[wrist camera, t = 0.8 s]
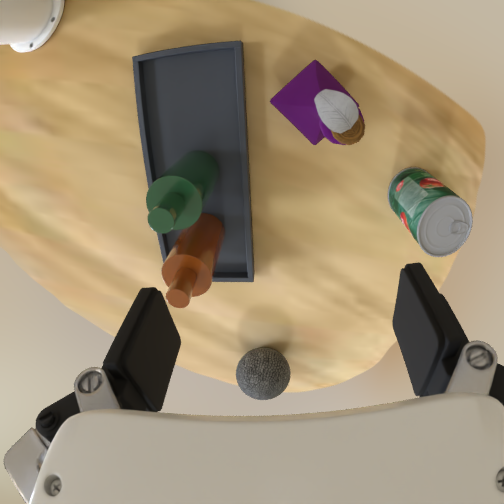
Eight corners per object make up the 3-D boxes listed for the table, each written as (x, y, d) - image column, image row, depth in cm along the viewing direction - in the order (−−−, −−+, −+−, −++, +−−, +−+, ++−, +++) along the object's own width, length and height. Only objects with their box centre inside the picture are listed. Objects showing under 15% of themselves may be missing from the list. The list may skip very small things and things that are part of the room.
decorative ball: (234, 364, 61) (229, 404, 52) (244, 332, 55) (238, 375, 47) (281, 372, 61) (281, 412, 53) (296, 341, 56) (298, 385, 47)
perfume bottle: (353, 103, 34) (411, 124, 19) (311, 140, 37) (338, 187, 22) (312, 60, 32) (344, 44, 16) (269, 99, 35) (266, 113, 19)
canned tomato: (384, 216, 42) (411, 257, 32) (390, 164, 38) (424, 193, 28) (429, 218, 41) (463, 257, 32) (438, 169, 37) (479, 198, 28)
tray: (138, 57, 32) (132, 56, 30) (242, 42, 31) (240, 40, 29) (171, 273, 50) (167, 280, 48) (254, 274, 48) (253, 282, 47)
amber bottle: (181, 213, 43) (144, 275, 30) (223, 212, 43) (201, 276, 30) (187, 249, 46) (157, 318, 33) (227, 249, 46) (208, 320, 33)
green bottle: (173, 152, 38) (125, 192, 26) (217, 148, 38) (188, 187, 25) (179, 193, 42) (138, 249, 29) (221, 192, 41) (196, 249, 28)
